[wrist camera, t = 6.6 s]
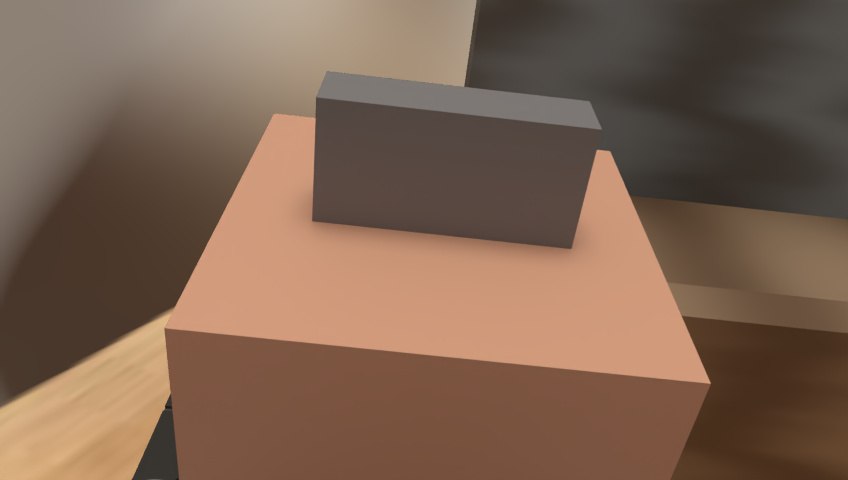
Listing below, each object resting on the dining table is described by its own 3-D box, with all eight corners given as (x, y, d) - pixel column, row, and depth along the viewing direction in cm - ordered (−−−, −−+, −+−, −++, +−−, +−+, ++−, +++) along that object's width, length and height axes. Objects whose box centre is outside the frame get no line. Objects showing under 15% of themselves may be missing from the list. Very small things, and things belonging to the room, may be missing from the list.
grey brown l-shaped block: (802, 338, 28) (1073, -219, 19) (950, 574, 20) (1582, -215, 10) (433, 300, 28) (518, -292, 18) (427, 525, 19) (577, -349, 10)
